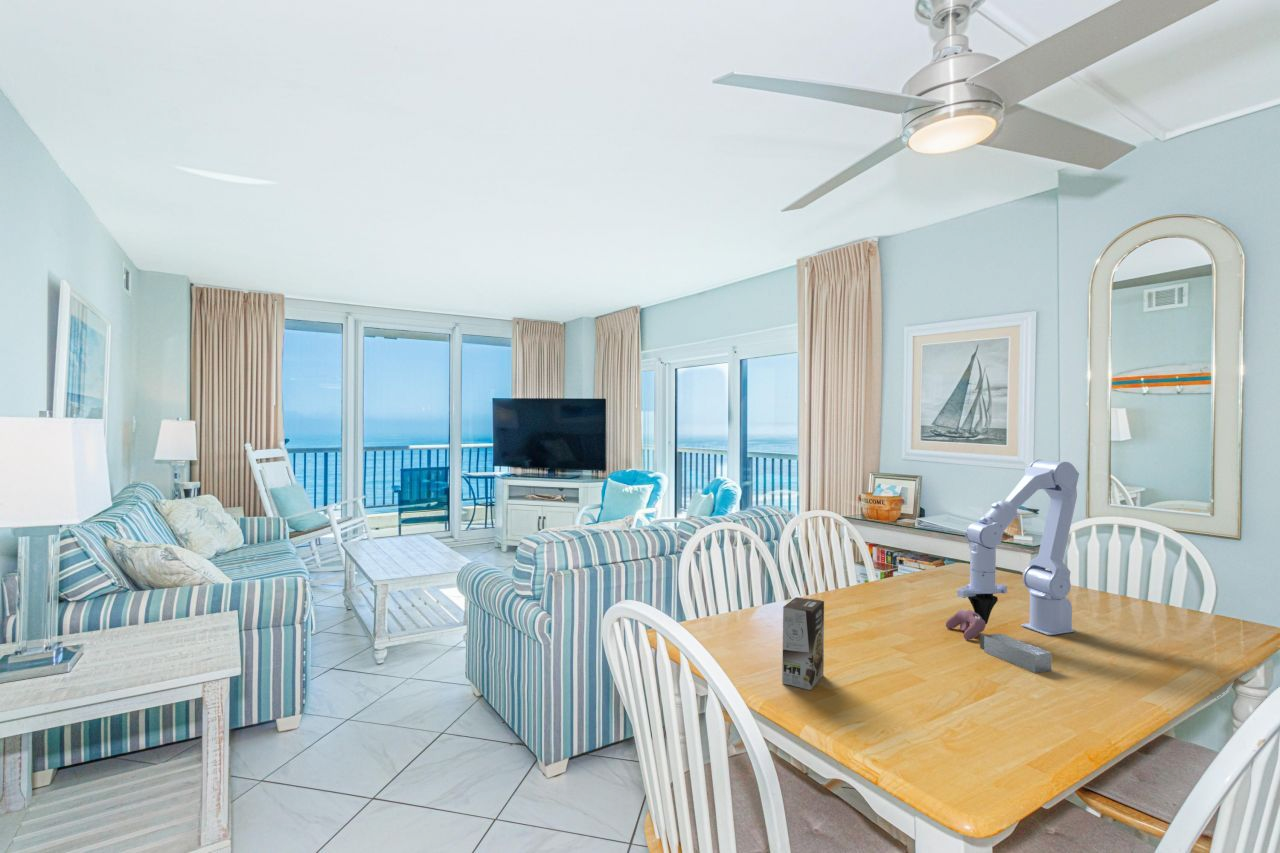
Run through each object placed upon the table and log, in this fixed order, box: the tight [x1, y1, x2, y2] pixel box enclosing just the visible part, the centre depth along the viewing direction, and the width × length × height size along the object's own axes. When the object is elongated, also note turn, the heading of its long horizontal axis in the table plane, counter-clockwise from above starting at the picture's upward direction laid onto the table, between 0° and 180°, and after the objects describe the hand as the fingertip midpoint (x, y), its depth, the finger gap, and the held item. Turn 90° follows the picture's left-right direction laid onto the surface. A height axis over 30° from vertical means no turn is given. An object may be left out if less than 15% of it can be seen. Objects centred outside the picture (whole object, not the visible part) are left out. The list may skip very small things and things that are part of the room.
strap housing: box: [983, 632, 1052, 674], centre depth 142 cm, size 5×13×4 cm, turn 19°
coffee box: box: [781, 597, 825, 691], centre depth 131 cm, size 9×6×16 cm
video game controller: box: [945, 608, 987, 641], centre depth 160 cm, size 10×5×7 cm, turn 3°
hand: (982, 623), depth 160 cm, fingers closed
